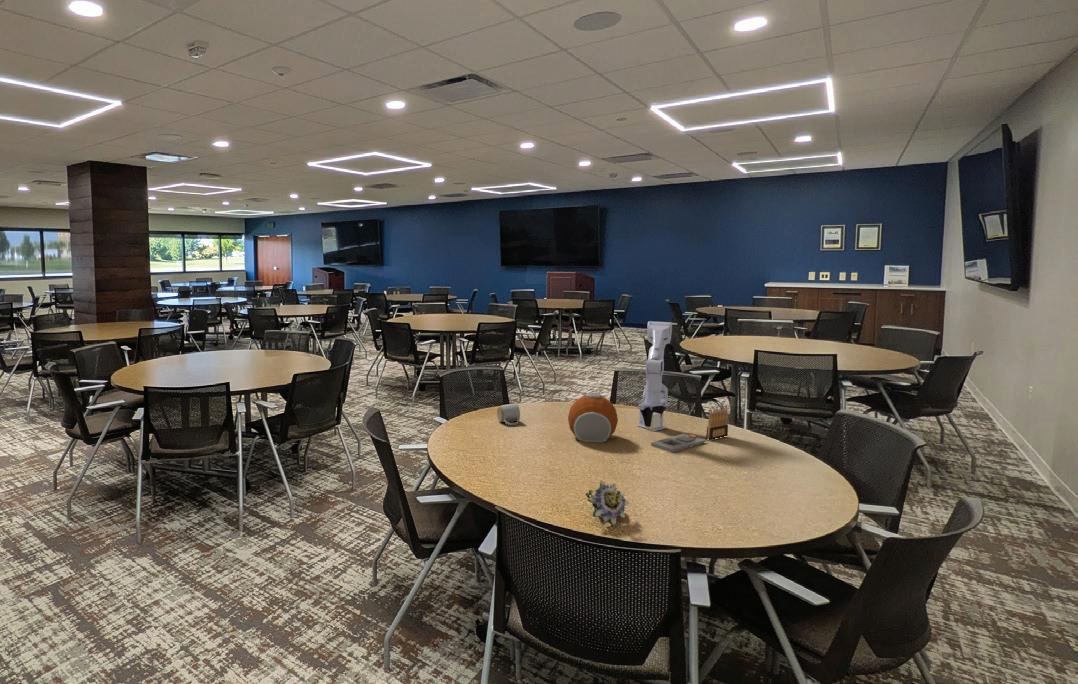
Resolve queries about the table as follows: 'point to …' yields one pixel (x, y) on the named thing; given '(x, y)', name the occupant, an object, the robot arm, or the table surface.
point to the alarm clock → (592, 418)
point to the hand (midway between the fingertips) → (651, 425)
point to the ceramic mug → (509, 413)
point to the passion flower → (608, 502)
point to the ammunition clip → (717, 424)
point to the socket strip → (678, 442)
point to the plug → (654, 422)
